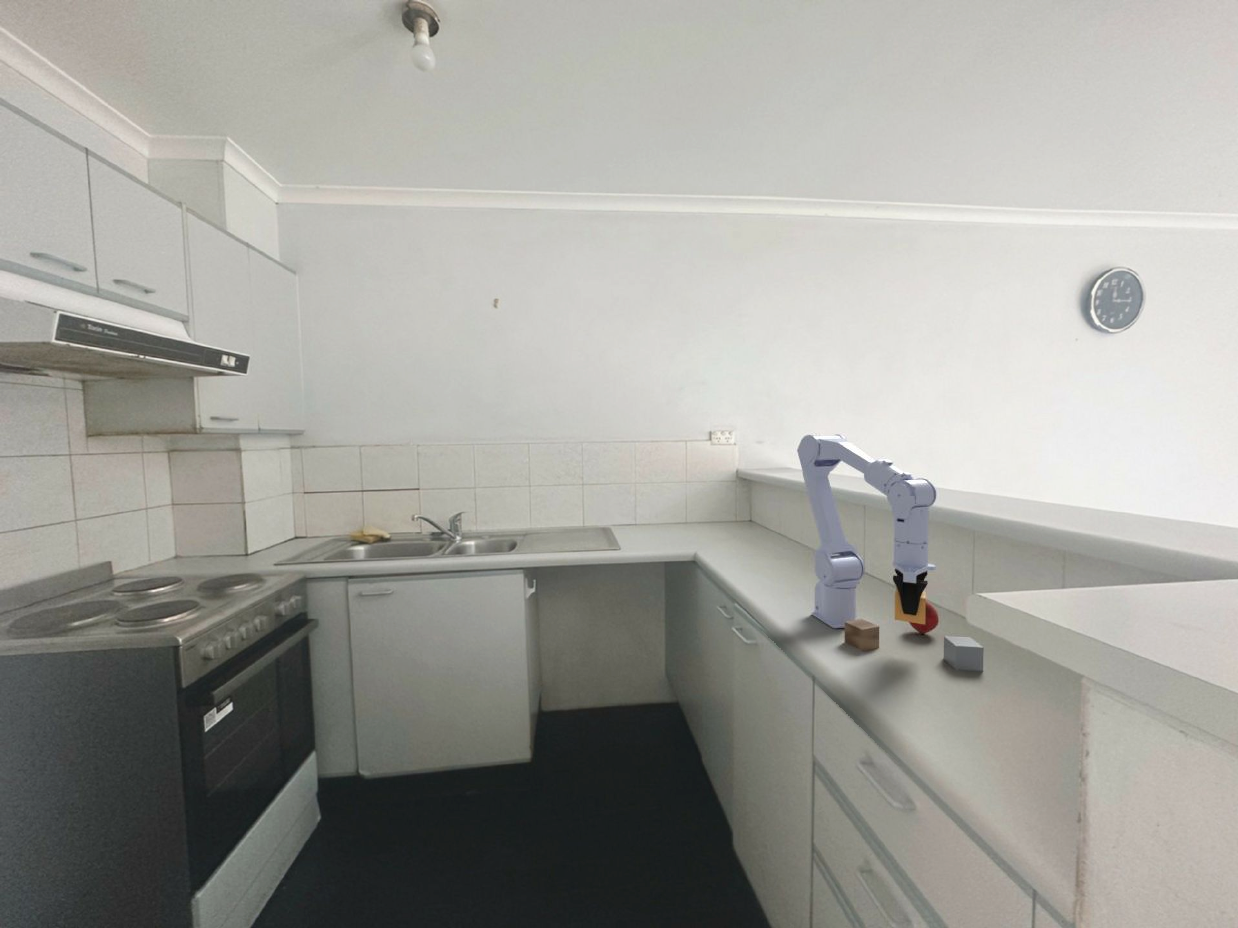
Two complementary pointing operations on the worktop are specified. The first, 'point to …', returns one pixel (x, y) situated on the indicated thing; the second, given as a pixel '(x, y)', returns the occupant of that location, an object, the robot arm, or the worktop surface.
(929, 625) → the onion
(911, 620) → the orange block
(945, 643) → the slate block
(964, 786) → the worktop surface
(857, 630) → the walnut block
